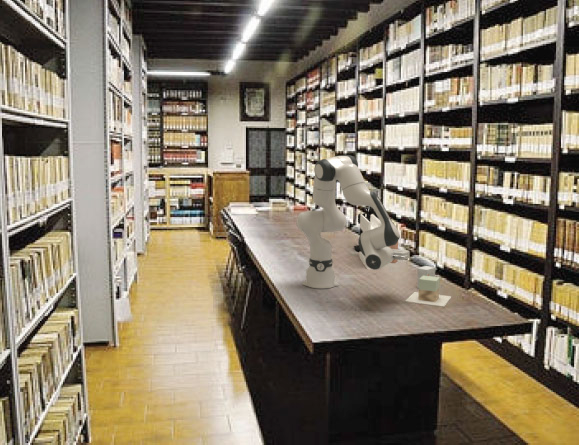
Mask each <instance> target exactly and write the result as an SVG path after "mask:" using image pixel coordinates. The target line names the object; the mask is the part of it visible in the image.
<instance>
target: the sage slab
mask: <svg viewBox="0 0 579 445" xmlns="http://www.w3.org/2000/svg"><path fill="white" fill-rule="evenodd" d="M440 285H441V278H440V277H439V276H435V277H432V276H422V277H421V278H420V279H419V288H418V291H419V290H427V291H435V292H436V291H437V290H438V289H439V290H440V287H441V286H440Z"/></svg>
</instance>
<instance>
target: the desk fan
mask: <svg viewBox="0 0 579 445" xmlns="http://www.w3.org/2000/svg"><path fill="white" fill-rule="evenodd" d="M360 214H362V215H363V216H364V217H365V218H366V219H367V220H368V221H369V222H370V217H371V214H373V215H374V216H376V217H377V218H378V216H377V214H376V212H375V210H374V209H373V208H372V207H370V206H366V207H365V209H364V213H358V214H357V223H358V224H359V225H360V217H361V216H360ZM378 219H379V218H378ZM361 233H363V231H362V229H361V228H360V227H359V235H360V234H361ZM353 248H354V250H355V251H356V252H361V250H360V248H359V244H356V245H354V246H353Z"/></svg>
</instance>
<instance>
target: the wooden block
mask: <svg viewBox="0 0 579 445" xmlns="http://www.w3.org/2000/svg"><path fill="white" fill-rule="evenodd" d="M418 292H419V296H418V300H424V301H432V302H436V301H437V299H438V298H439V295H440V288H439V289H438V290H437V291H436V292H435V291H427V290H419V289H418Z"/></svg>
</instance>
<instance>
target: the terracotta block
mask: <svg viewBox="0 0 579 445" xmlns="http://www.w3.org/2000/svg"><path fill="white" fill-rule="evenodd" d="M389 247H390V248H391V249H399V241H398V242H397V244H396V245H393V246H389ZM398 261H399V260H396V259H393V260H392V262H390V263H389V264H396V263H397V262H398Z"/></svg>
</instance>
